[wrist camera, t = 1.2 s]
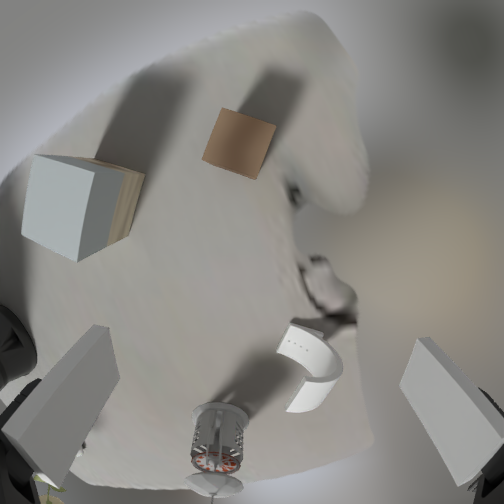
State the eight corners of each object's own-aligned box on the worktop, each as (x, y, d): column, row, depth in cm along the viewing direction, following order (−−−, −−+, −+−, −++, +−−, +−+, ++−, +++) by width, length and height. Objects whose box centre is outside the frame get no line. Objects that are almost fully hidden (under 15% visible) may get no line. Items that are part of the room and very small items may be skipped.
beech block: (80, 217, 32) (54, 224, 26) (94, 158, 30) (68, 156, 24) (128, 235, 32) (106, 246, 26) (145, 174, 30) (124, 173, 25)
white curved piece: (289, 321, 35) (306, 380, 24) (329, 333, 36) (356, 390, 24) (275, 349, 36) (285, 411, 25) (314, 359, 37) (334, 419, 25)
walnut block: (213, 165, 30) (201, 159, 23) (228, 125, 29) (222, 107, 21) (254, 179, 31) (256, 178, 23) (269, 139, 30) (276, 125, 22)
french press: (193, 433, 41) (172, 551, 17) (188, 391, 38) (155, 533, 14) (247, 438, 41) (247, 558, 17) (252, 396, 38) (254, 544, 14)
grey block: (54, 224, 26) (21, 234, 20) (68, 156, 24) (34, 154, 18) (106, 246, 26) (77, 262, 21) (124, 173, 25) (94, 172, 19)
